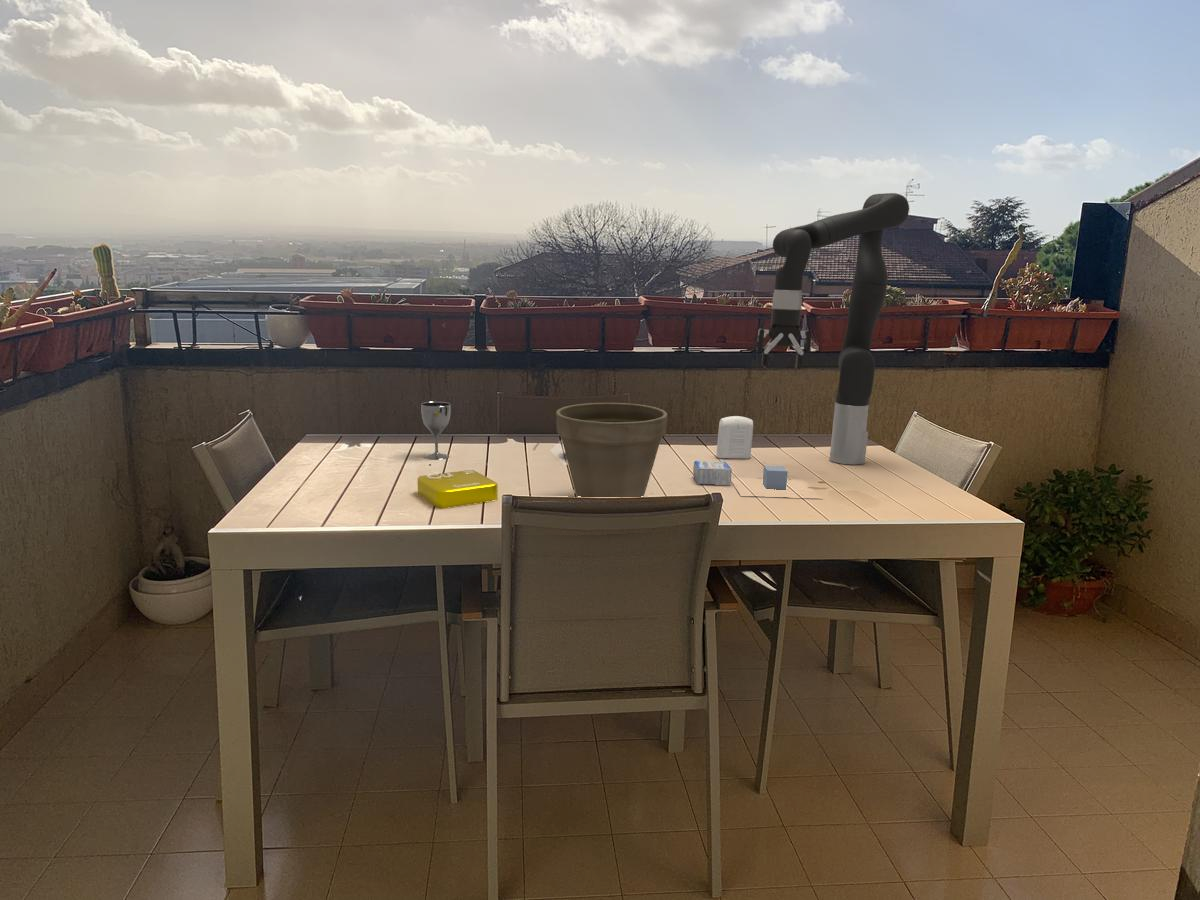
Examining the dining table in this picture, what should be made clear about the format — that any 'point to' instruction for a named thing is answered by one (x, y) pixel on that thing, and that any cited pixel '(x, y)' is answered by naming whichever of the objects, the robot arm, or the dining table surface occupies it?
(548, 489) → the dining table surface
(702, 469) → the medicine box
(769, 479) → the slate-blue cube
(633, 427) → the plant pot
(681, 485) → the dining table surface
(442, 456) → the wine glass
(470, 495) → the element tile
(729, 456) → the photo printer
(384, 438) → the dining table surface
